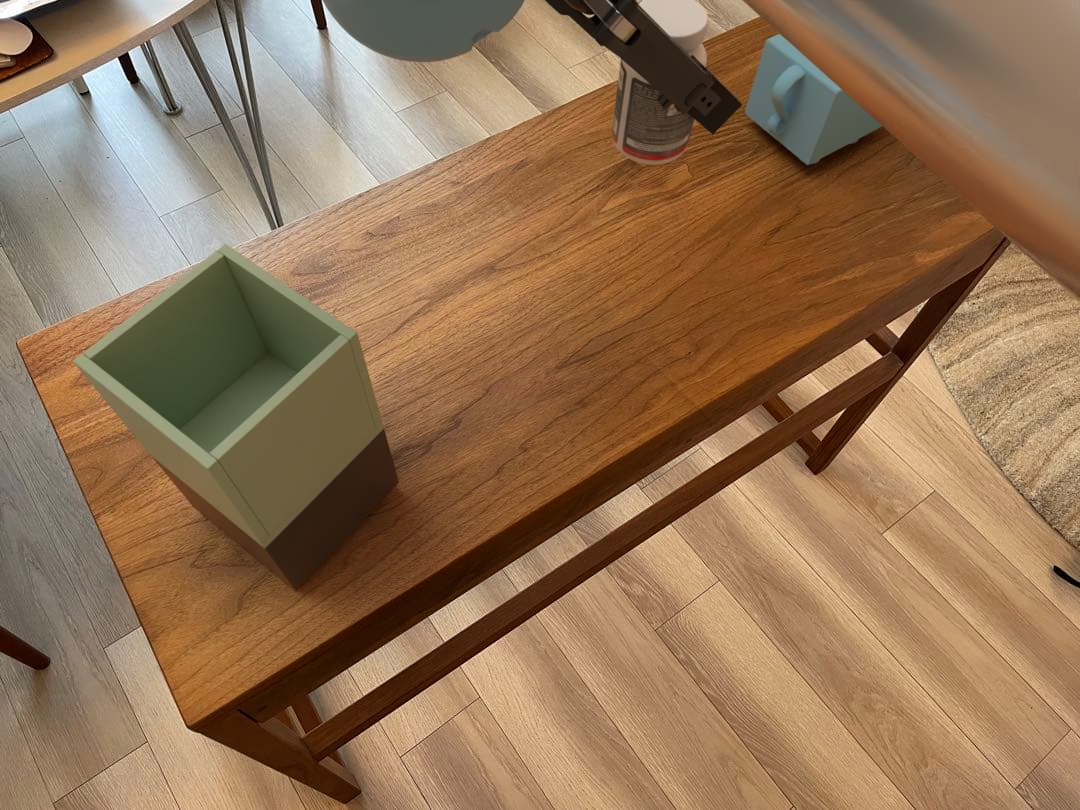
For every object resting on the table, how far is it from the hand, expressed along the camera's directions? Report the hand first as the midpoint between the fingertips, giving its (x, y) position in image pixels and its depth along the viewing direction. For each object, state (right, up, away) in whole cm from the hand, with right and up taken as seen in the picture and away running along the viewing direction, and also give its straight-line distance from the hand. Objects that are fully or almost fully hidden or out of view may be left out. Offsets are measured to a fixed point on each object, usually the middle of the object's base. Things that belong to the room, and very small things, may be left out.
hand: (699, 89), depth 57 cm
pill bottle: (-3, -3, +2) cm, 5 cm away
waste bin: (-33, -31, +16) cm, 48 cm away
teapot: (+24, +13, +44) cm, 52 cm away
